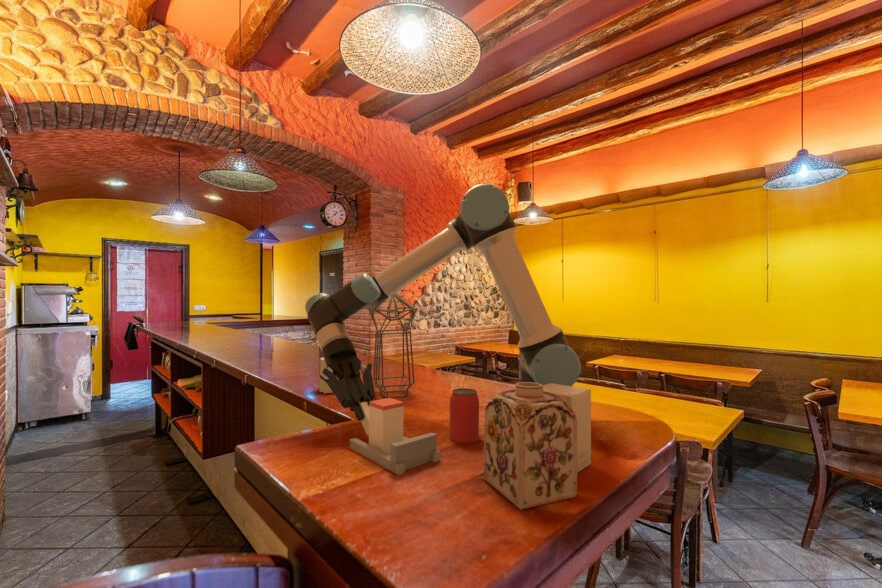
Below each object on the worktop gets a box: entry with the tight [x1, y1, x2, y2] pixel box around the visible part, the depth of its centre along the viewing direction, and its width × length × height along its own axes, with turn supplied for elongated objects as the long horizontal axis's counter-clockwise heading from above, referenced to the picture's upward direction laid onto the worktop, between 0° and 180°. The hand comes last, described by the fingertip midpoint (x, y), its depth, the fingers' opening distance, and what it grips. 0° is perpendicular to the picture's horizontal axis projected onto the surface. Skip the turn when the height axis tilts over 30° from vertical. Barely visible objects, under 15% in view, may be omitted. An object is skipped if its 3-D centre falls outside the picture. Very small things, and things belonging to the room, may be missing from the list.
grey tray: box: [349, 432, 441, 476], centre depth 78 cm, size 20×12×6 cm, turn 42°
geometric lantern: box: [368, 292, 420, 398], centre depth 135 cm, size 16×16×35 cm
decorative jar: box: [483, 381, 578, 510], centre depth 68 cm, size 12×12×18 cm
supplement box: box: [543, 383, 592, 474], centre depth 78 cm, size 9×9×15 cm
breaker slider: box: [368, 398, 405, 455], centre depth 80 cm, size 5×5×10 cm
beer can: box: [448, 387, 480, 444], centre depth 88 cm, size 7×7×12 cm
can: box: [318, 356, 338, 394], centre depth 140 cm, size 9×9×12 cm
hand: (372, 431), depth 84 cm, fingers closed
